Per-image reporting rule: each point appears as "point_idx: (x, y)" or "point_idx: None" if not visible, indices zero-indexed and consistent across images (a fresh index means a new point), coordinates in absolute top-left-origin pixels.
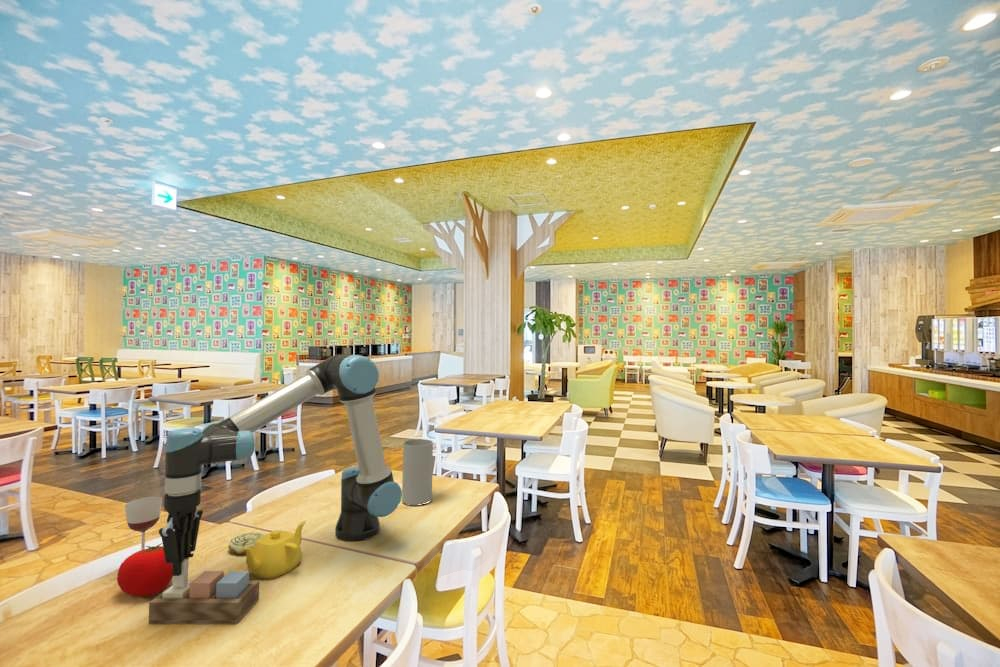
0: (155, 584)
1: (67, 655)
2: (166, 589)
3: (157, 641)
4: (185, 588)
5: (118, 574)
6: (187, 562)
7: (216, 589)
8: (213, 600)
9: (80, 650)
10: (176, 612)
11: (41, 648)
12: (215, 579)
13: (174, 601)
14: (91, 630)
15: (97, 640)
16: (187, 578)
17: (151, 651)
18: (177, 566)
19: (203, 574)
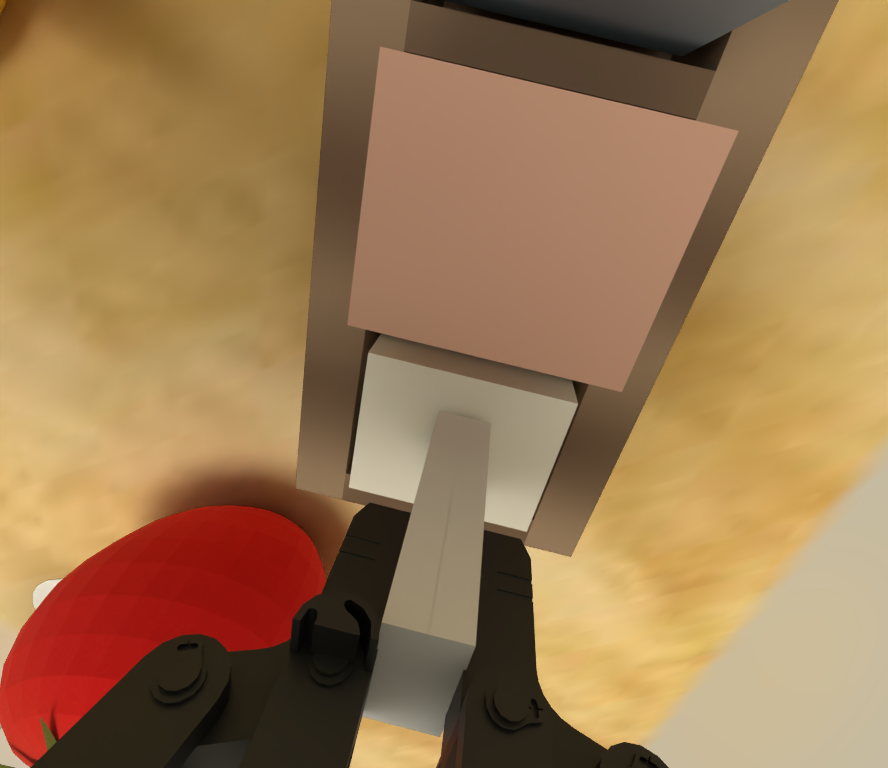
0: (306, 574)
1: (701, 649)
2: None
3: (776, 371)
4: (494, 405)
5: None
6: (408, 579)
7: (749, 20)
8: (761, 54)
9: (683, 626)
10: None
11: (608, 715)
12: (583, 98)
13: (620, 420)
14: (537, 636)
15: (628, 601)
16: (433, 442)
17: (879, 366)
18: (531, 654)
19: (433, 310)
